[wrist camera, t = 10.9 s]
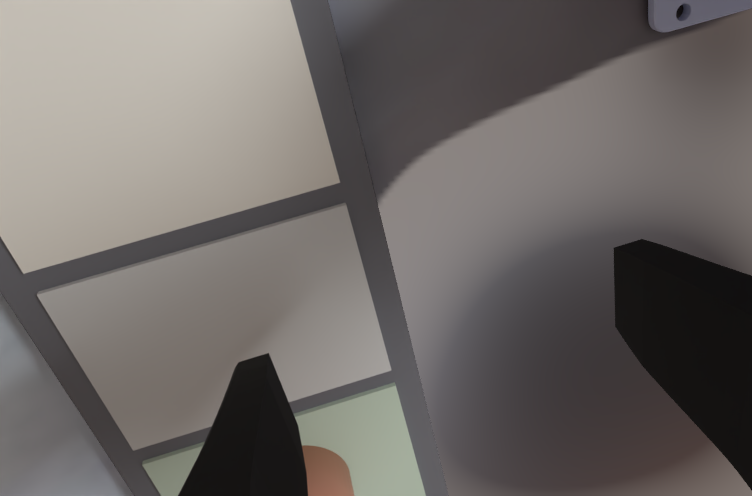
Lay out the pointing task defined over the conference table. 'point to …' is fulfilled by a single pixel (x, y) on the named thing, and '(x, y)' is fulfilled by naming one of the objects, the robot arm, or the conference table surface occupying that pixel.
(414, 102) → the conference table surface
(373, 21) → the conference table surface
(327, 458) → the pawn
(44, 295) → the game board
